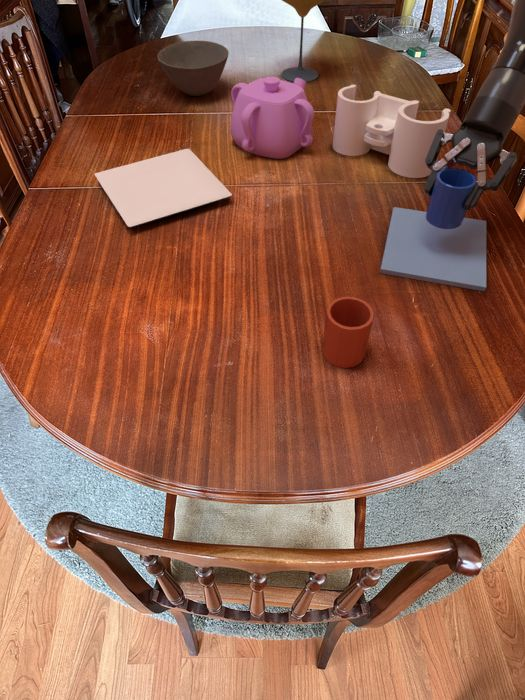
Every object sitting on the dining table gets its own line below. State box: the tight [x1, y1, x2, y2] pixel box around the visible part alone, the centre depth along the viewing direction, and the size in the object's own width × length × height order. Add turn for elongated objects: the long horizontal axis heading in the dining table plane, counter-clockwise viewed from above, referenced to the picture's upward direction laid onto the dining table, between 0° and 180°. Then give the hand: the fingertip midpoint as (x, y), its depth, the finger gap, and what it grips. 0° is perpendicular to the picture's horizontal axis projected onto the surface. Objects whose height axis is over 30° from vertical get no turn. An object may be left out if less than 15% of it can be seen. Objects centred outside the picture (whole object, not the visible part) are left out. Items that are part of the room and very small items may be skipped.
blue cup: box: [425, 167, 477, 229], centre depth 87 cm, size 6×6×8 cm
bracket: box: [332, 84, 452, 179], centre depth 113 cm, size 25×10×12 cm, turn 54°
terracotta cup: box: [321, 296, 375, 369], centre depth 75 cm, size 7×7×8 cm
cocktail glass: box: [281, 0, 327, 83], centre depth 139 cm, size 18×18×25 cm
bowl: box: [157, 40, 230, 97], centre depth 137 cm, size 19×19×10 cm
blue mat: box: [379, 206, 487, 292], centre depth 95 cm, size 18×20×1 cm
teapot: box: [230, 75, 315, 160], centre depth 118 cm, size 19×21×14 cm
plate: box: [94, 148, 233, 228], centre depth 107 cm, size 22×22×2 cm
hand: (446, 201), depth 86 cm, fingers closed on blue cup, 6 cm apart
